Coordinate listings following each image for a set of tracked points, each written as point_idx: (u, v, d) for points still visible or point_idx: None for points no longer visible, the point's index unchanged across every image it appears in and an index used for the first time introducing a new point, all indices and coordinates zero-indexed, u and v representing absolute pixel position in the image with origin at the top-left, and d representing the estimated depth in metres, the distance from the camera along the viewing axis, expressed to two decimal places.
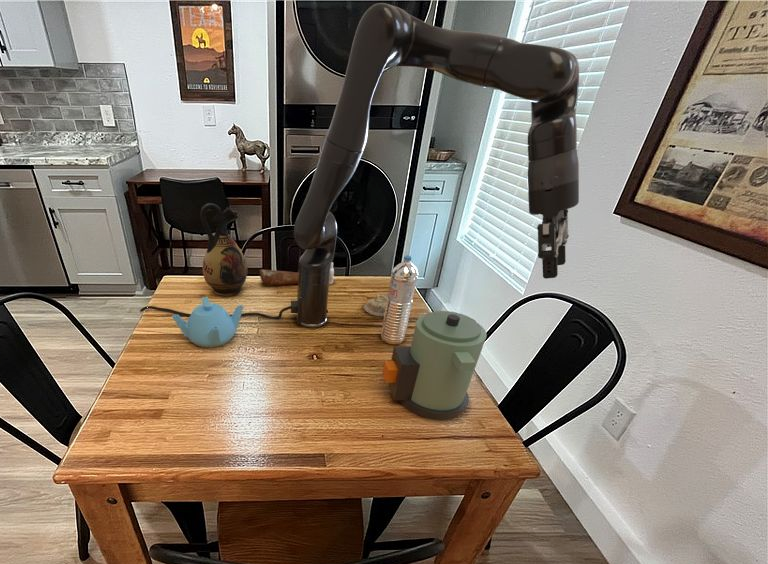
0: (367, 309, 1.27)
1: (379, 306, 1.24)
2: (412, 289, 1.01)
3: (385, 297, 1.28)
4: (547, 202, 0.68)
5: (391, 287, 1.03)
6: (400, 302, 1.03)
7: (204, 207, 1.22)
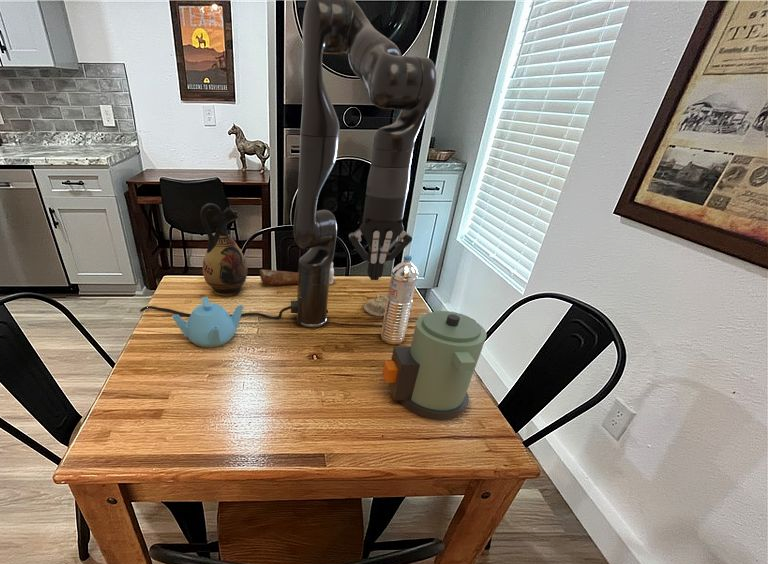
0: (367, 309, 1.27)
1: (379, 306, 1.24)
2: (412, 289, 1.01)
3: (385, 297, 1.28)
4: (364, 207, 0.74)
5: (391, 287, 1.03)
6: (400, 302, 1.03)
7: (204, 207, 1.22)
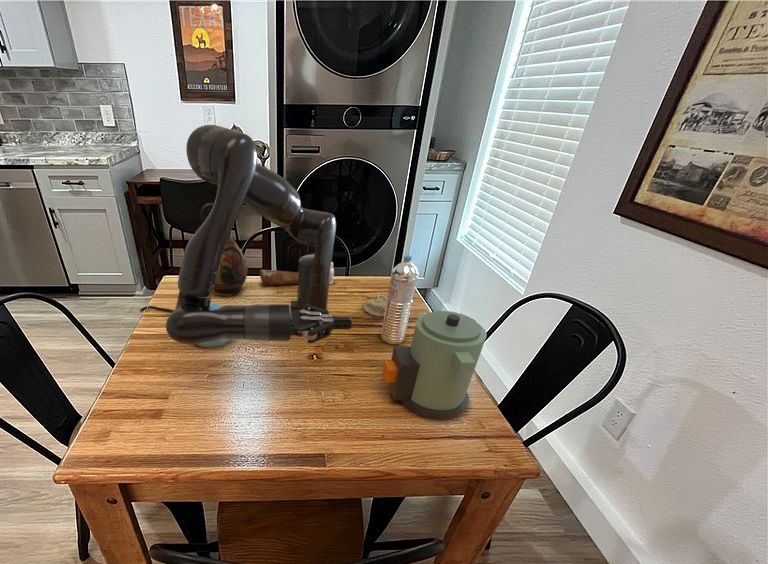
0: (367, 309, 1.27)
1: (379, 306, 1.24)
2: (412, 289, 1.01)
3: (385, 297, 1.28)
4: None
5: (391, 287, 1.03)
6: (400, 302, 1.03)
7: (204, 207, 1.22)
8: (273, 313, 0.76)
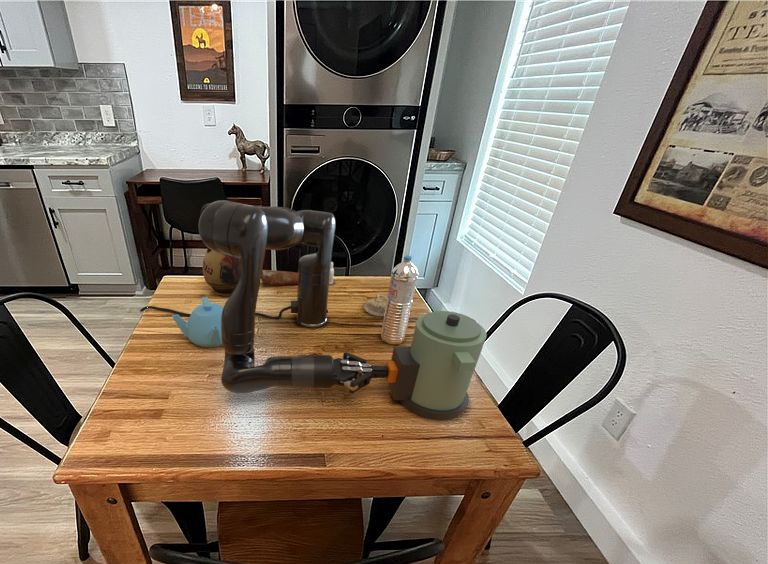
0: (367, 309, 1.27)
1: (379, 306, 1.24)
2: (412, 289, 1.01)
3: (385, 297, 1.28)
4: None
5: (391, 287, 1.03)
6: (400, 302, 1.03)
7: (204, 207, 1.22)
8: (318, 365, 0.84)
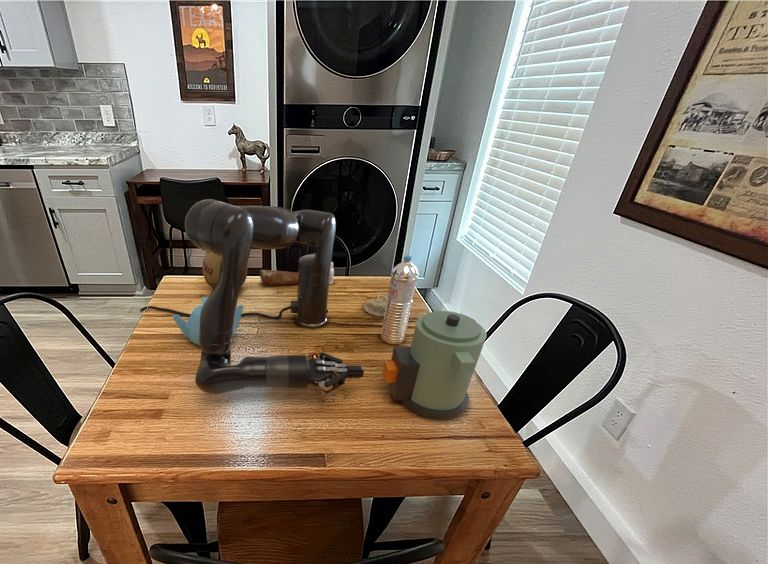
0: (367, 309, 1.27)
1: (379, 306, 1.24)
2: (412, 289, 1.01)
3: (385, 297, 1.28)
4: None
5: (391, 287, 1.03)
6: (400, 302, 1.03)
7: None
8: (292, 365, 0.83)
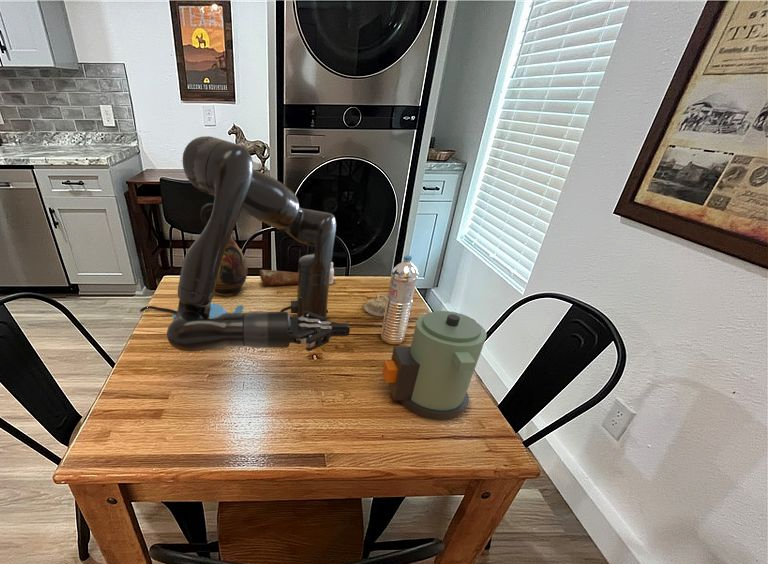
0: (367, 309, 1.27)
1: (379, 306, 1.24)
2: (412, 289, 1.01)
3: (385, 297, 1.28)
4: None
5: (391, 287, 1.03)
6: (400, 302, 1.03)
7: (204, 207, 1.22)
8: (272, 321, 0.77)
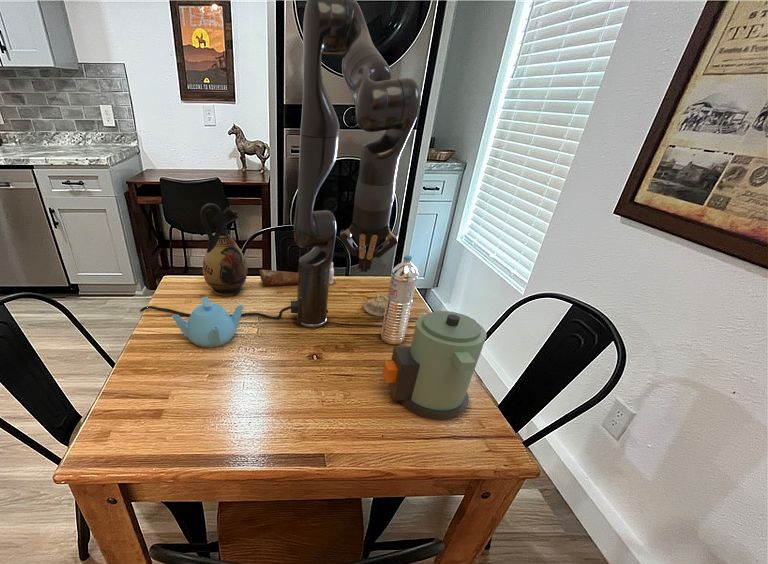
0: (367, 309, 1.27)
1: (379, 306, 1.24)
2: (412, 289, 1.01)
3: (385, 297, 1.28)
4: None
5: (391, 287, 1.03)
6: (400, 302, 1.03)
7: (204, 207, 1.22)
8: None
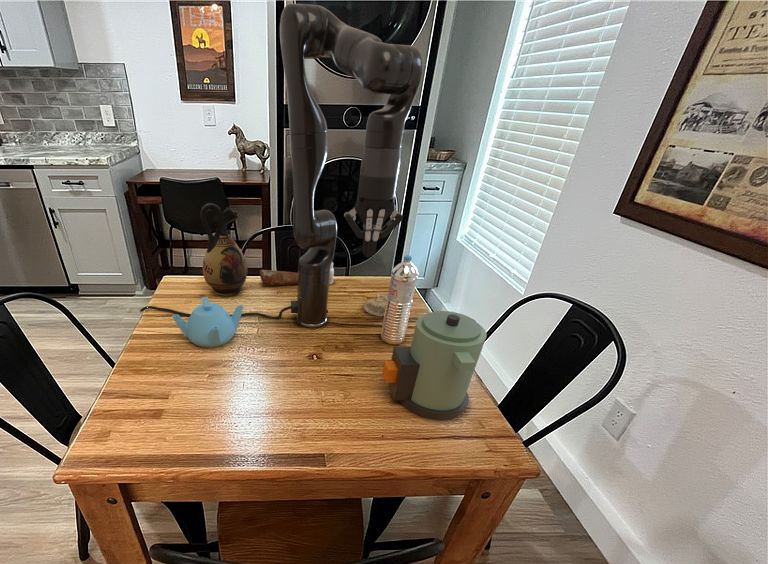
0: (367, 309, 1.27)
1: (379, 306, 1.24)
2: (412, 289, 1.01)
3: (385, 297, 1.28)
4: None
5: (391, 287, 1.03)
6: (400, 302, 1.03)
7: (204, 207, 1.22)
8: None
